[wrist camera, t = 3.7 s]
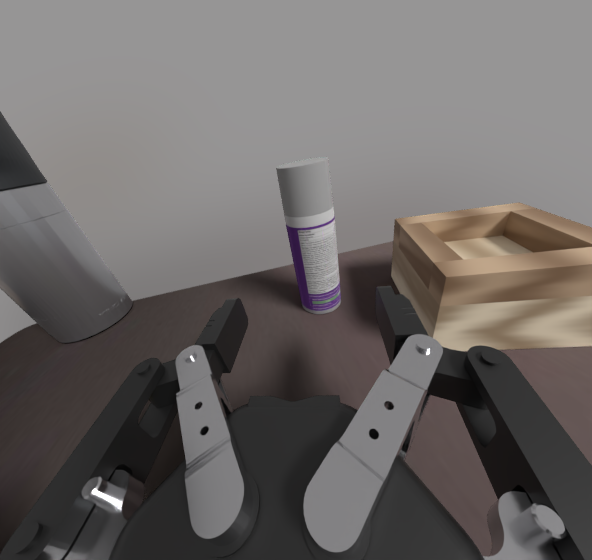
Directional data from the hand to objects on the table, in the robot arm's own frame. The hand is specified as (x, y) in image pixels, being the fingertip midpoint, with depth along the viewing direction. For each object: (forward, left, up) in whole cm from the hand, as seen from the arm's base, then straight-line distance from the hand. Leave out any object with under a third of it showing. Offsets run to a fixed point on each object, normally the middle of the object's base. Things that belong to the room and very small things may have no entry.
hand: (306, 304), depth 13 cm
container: (0, +11, -9) cm, 14 cm away
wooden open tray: (+15, +9, -9) cm, 19 cm away
